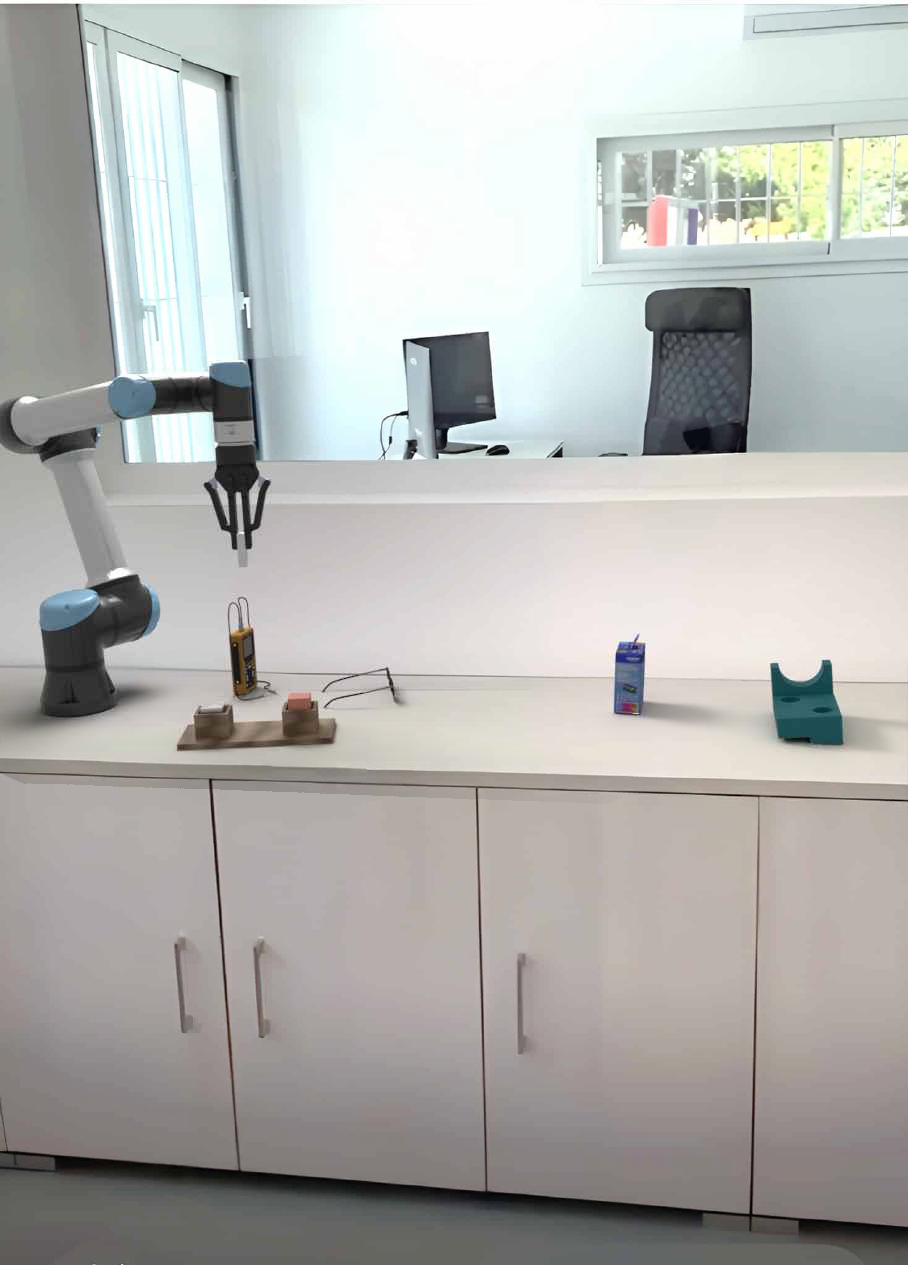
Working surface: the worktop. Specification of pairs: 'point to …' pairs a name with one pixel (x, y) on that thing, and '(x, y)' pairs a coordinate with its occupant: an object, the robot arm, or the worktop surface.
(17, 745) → the worktop surface
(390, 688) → the sunglasses
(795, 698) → the teal l-shaped bracket
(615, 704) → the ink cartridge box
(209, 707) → the steel plug
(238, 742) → the socket panel
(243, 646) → the multimeter
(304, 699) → the salmon pink plug
